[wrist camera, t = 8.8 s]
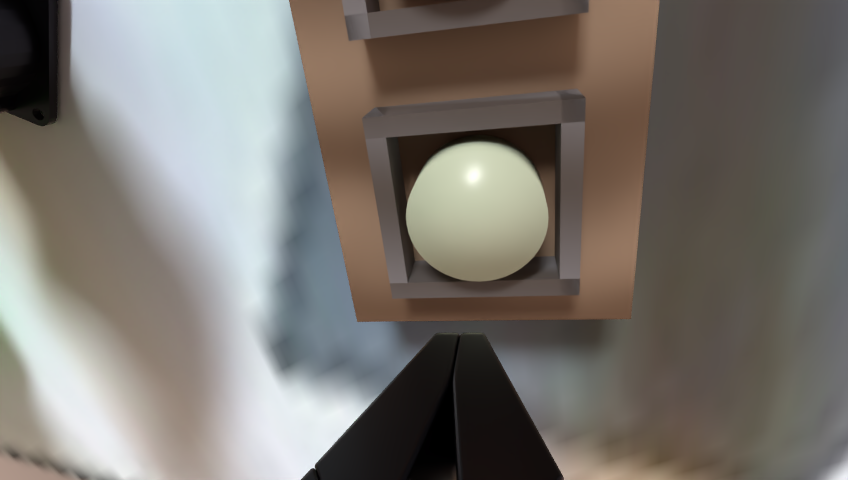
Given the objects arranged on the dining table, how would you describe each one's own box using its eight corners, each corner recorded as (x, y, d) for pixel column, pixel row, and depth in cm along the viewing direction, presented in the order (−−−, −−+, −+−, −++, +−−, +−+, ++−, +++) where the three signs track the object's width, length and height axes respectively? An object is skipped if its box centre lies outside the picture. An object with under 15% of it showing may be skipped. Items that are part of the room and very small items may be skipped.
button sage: (543, 251, 15) (548, 279, 14) (423, 255, 16) (414, 283, 15) (542, 129, 14) (548, 146, 12) (408, 140, 14) (396, 157, 13)
